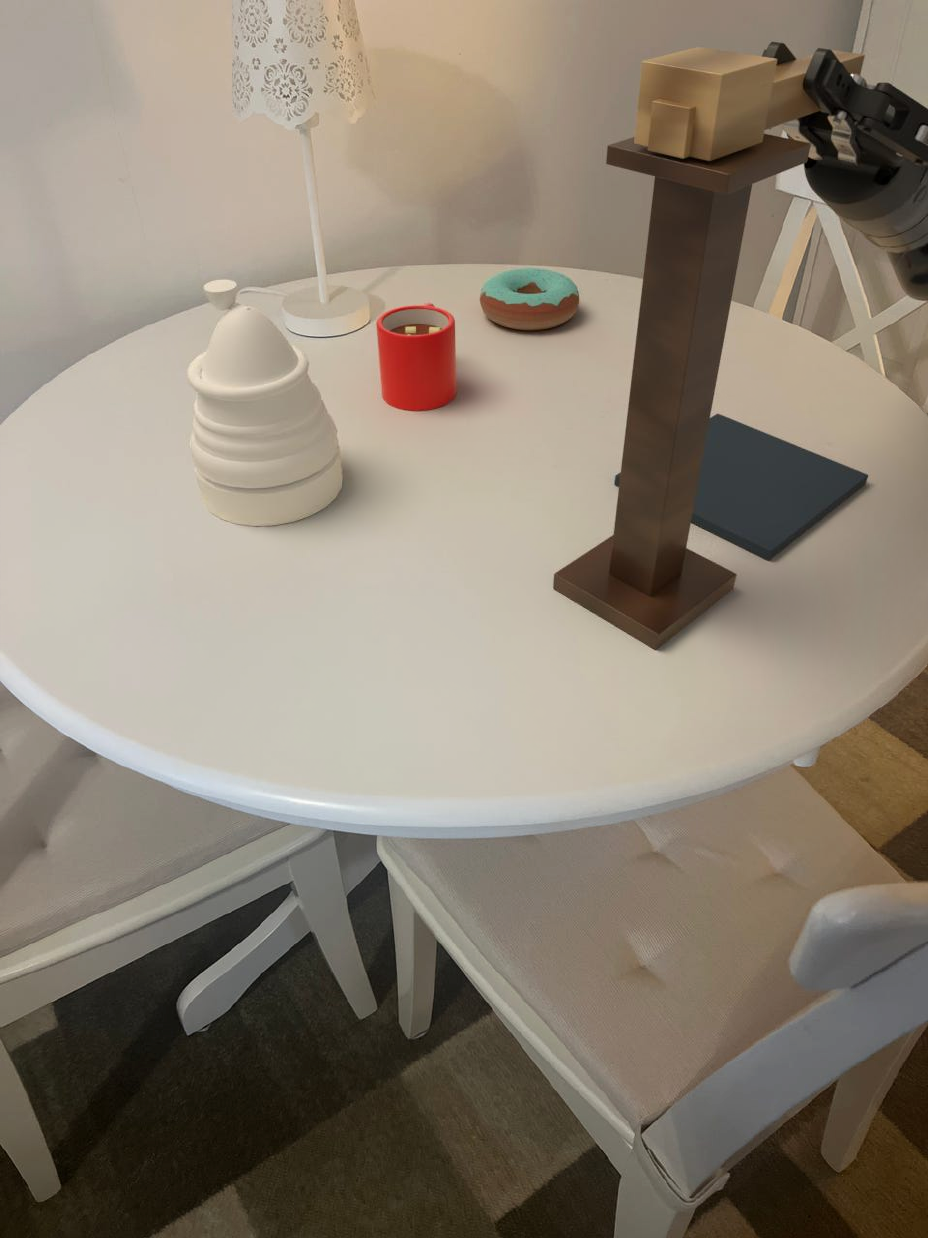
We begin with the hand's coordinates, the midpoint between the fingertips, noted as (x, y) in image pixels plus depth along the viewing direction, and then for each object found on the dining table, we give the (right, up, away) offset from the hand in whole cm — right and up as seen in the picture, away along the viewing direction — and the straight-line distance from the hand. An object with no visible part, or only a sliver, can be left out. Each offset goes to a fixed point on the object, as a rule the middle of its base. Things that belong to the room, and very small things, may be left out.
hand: (791, 63), depth 53 cm
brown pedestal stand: (-5, -30, +19) cm, 36 cm away
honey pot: (-36, -20, +31) cm, 52 cm away
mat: (+6, -20, +30) cm, 37 cm away
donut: (-11, +5, +59) cm, 60 cm away
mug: (-23, -7, +46) cm, 52 cm away
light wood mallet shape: (-2, -3, 0) cm, 4 cm away
